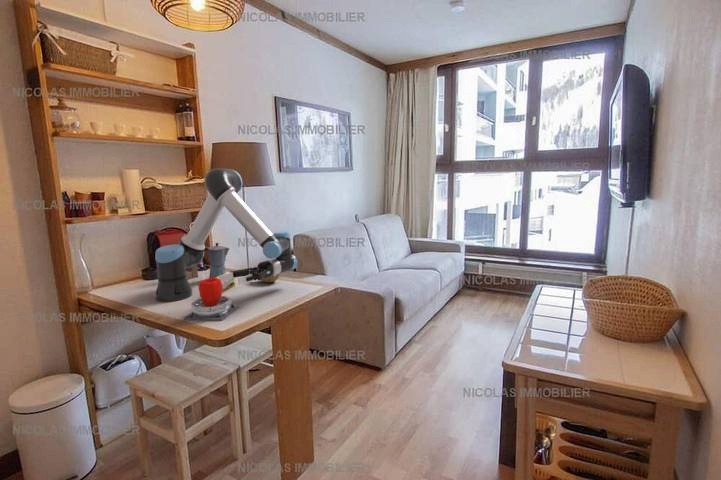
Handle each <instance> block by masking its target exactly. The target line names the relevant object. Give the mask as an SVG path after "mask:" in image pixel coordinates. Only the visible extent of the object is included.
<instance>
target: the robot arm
mask: <svg viewBox="0 0 721 480" xmlns="http://www.w3.org/2000/svg"><path fill="white" fill-rule="evenodd" d="M203 183H204V187H205V188H206V190H207V191H206V192H207V193H208V195H207V197H206V199H205V201H204V203H203V204H202V206H201V208H200V210H199V212H198V214H197V216H196V218H195V220H194V221H193V224H192V225H191V227H190V230H189V231H188V233H187V234H186V235H185V236H181V239H180V241H179V242H178V243H177V244H167V245H164V246H161V247H158V248H157V249H156V250H155V254H154V255H155V257H154V259H155V264H156V273H157V281H158V282H157V287H156V291H155V300H156V301H157V302H162V303H163V302H175V301H180V300H184V299H187V298H189V297H191V296H192V295H193V290H192V289H193V288H192V287H191V285H190V283H189V281H188V279H187V278H186V272H187V270H188V268H190V267H193V266H195V265H197V266H198V265H199V264H200V263H201V262H202V261H203V257H204V258H205V250H204V249H205V247H206V245H205V242H206V240H207V238H208V237H209V235H210V234H211V232H212V229H213V227H214V225H215V224H216V223H217V220H218V219H219V216H220V215H221V214H222V213H221V212H222V211H223V209H224V208H225V209H226V210H227V211H228V213H230V214H231V215H232V217H234V218H235V220H236V221H238V223H239V224H240V225H241V226H242V227H243V228H244V229H245V230H246V232H247V233H248V234H249V235H250V236H251V237H252V238H253V240H254V241H255V242H256V244H258V245H259V246H260V247H261V248H262V253H263V255H264V256H265V257H266V258H268V260H265V261H261V262H259V263H258V264H257V267H256V266H255V267H254V266H253V267H248V268H242V269H236V270H230V271H229V272H230V273H228V272H226V273H227V274H224V275H220V276H219V279H220V280H221V282H223V281H226V280H230V279H233V278H234V277H235V278H237V280H238V281H237V282H238V285H243V284H246V283H250V282H253V281H260V280H261V279H263V278H268V277H271V276H276V274H280V275H281V274H283V273H286V272H290V271H292V270H294V269H296V268H297V266H298V259H297V257H296V256H295V255H294V254H292V247H291V236H290V233H289V231H286V230H285V231H283V230H282V231H276V232H272V230H270V229H269V227H267V225H266V224H264V222H263V221H262V220H261V219H260V218H259V217H258V216H257V214H256V213H254V211H253V210H252V209H251V208H250V207H249V205H248V204H246V202H245V201H244V200H243V198H241V197H240V196H239V194H238V193H239V192H240V191H241V189H242V188H243V178H242V176H241V174H240V173H239V172H237V171H236V170H234V169H232V168H220V167H219V168H212V169H211V170H209V171H208V172H207V173H206V175H205V176H204V182H203Z"/></svg>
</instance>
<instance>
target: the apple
mask: <svg viewBox="0 0 721 480" xmlns="http://www.w3.org/2000/svg"><path fill="white" fill-rule="evenodd" d="M198 292H199V296H200V299H202V301H203V303H204V305H206V306H213V305H215V304H217V303H218V302H219V300H220V298H221V296H223V293H222V282H221V280H220V279H218V278H209V277H208V278H205V279H202V280H200V281H199V282H198Z"/></svg>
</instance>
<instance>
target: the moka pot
mask: <svg viewBox="0 0 721 480" xmlns="http://www.w3.org/2000/svg"><path fill="white" fill-rule="evenodd" d="M229 250H230V247H227V246H222V245H221V246H220V245H219V242H216V243H215V245H214V246H207V247H206V246H205V249H204V252H205V251H206V252H207V253H208V259H209V262H207V261H206V258H205V256H204V257H203V259H202V261H203V264H205V265H209V264H210V268H209V277H208V278H216V277H218V276H220V275H223V274H225V273H227V272H226V265H225V262H226V257H227V255H228V252H229Z"/></svg>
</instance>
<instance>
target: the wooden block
mask: <svg viewBox="0 0 721 480" xmlns="http://www.w3.org/2000/svg"><path fill="white" fill-rule="evenodd" d="M198 277H199V271H198V264H197V265H195V266H193V267H190V268H188V269H187V271H186V278H187V280H190V279H195V278H198Z"/></svg>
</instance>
